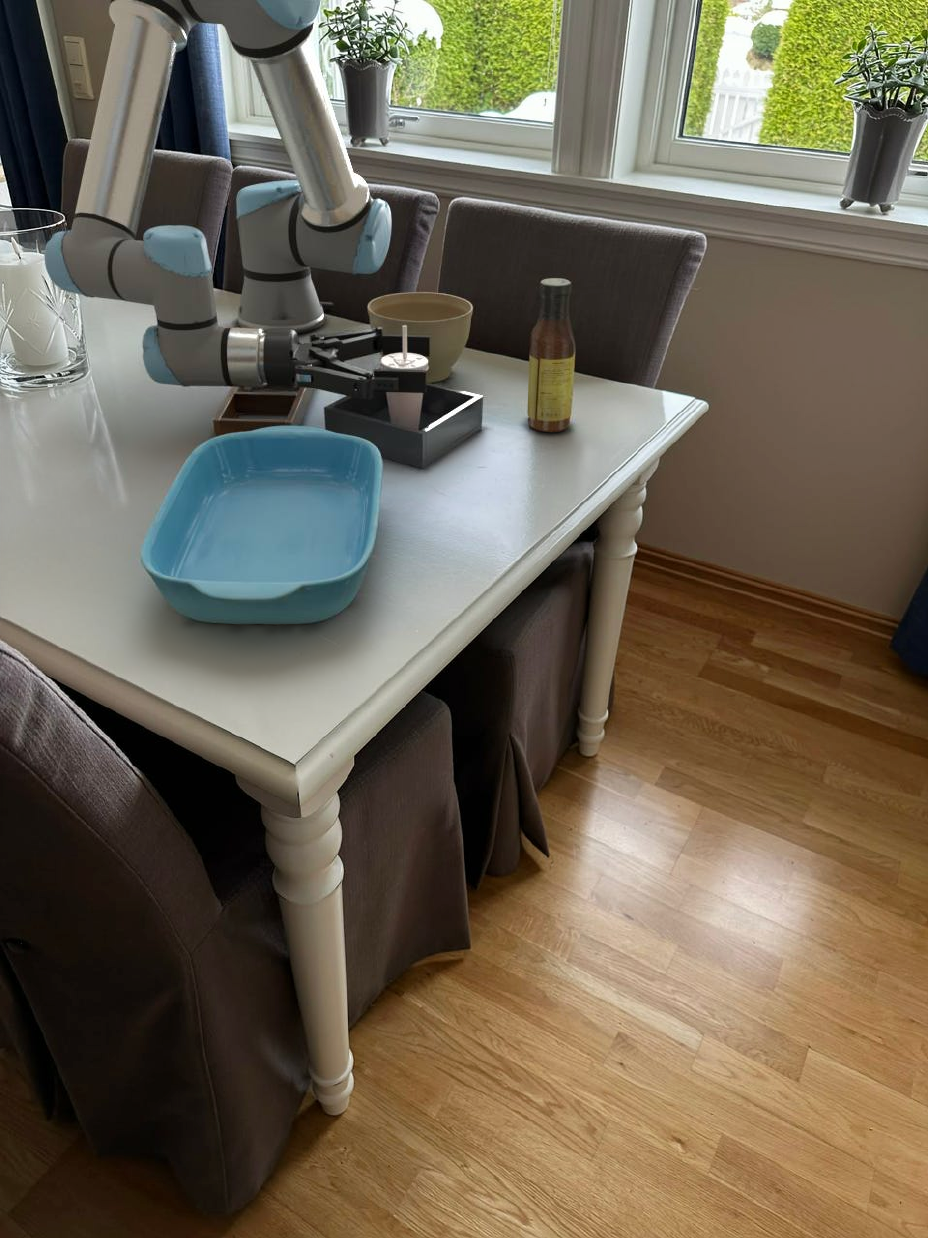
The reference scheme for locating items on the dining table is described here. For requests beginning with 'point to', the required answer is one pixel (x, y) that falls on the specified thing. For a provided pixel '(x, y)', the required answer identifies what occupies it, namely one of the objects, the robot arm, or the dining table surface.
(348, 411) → the dark grey square tray
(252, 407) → the brown shallow wooden box
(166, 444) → the dining table surface
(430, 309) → the planter bowl
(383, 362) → the smoothie
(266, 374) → the robot arm
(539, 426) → the sauce bottle
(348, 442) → the casserole dish
